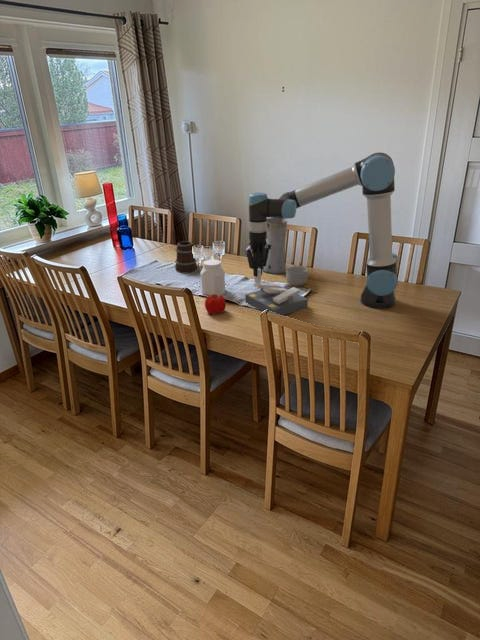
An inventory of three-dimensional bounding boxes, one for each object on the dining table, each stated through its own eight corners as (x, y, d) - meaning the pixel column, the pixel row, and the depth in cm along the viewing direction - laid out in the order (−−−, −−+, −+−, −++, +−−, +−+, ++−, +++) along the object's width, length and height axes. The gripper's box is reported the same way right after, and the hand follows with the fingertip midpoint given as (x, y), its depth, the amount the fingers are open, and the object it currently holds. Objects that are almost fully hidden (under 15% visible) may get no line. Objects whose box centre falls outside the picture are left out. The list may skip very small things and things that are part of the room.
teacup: (306, 288, 216) (307, 273, 212) (284, 287, 218) (284, 272, 214) (308, 278, 228) (308, 264, 224) (287, 277, 230) (287, 263, 226)
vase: (259, 274, 236) (260, 222, 223) (266, 265, 248) (266, 216, 235) (283, 276, 233) (285, 224, 220) (288, 267, 244) (290, 217, 231)
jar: (228, 290, 216) (227, 260, 209) (219, 297, 208) (217, 267, 202) (208, 286, 221) (206, 257, 214) (198, 293, 213) (196, 263, 206)
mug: (189, 274, 238) (187, 247, 231) (171, 270, 243) (169, 244, 236) (205, 265, 250) (203, 239, 243) (187, 262, 255) (185, 237, 248)
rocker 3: (300, 292, 192) (299, 289, 191) (279, 303, 187) (278, 300, 186) (293, 289, 195) (293, 286, 194) (273, 300, 190) (272, 297, 189)
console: (307, 307, 196) (308, 291, 193) (274, 318, 187) (274, 302, 183) (277, 292, 212) (277, 278, 208) (245, 302, 202) (245, 287, 199)
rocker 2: (288, 293, 198) (289, 290, 198) (268, 293, 191) (269, 289, 191) (282, 290, 201) (283, 287, 201) (262, 290, 194) (263, 286, 194)
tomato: (201, 312, 194) (200, 296, 190) (216, 306, 199) (216, 290, 196) (215, 318, 188) (215, 302, 184) (230, 312, 193) (230, 296, 190)
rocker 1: (278, 288, 204) (279, 285, 203) (258, 288, 196) (259, 284, 196) (273, 286, 207) (274, 283, 206) (253, 285, 199) (254, 282, 199)
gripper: (264, 226, 193) (264, 277, 204) (240, 231, 187) (241, 283, 197) (275, 229, 188) (274, 281, 198) (250, 235, 181) (250, 288, 191)
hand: (257, 282), depth 197 cm, fingers closed
